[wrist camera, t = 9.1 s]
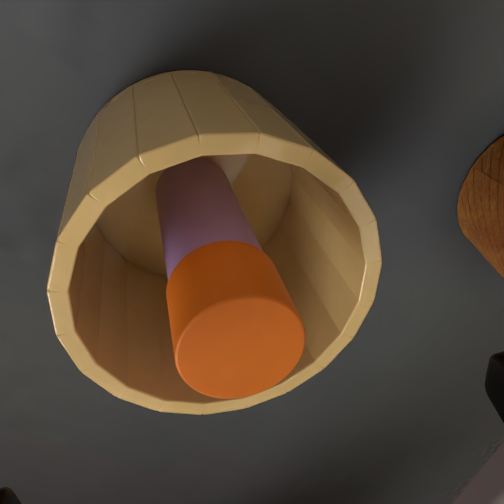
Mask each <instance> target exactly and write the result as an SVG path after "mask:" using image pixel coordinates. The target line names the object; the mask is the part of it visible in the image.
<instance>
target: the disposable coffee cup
mask: <svg viewBox="0 0 504 504" xmlns="http://www.w3.org/2000/svg"><path fill="white" fill-rule="evenodd" d="M457 212H458V222H459V225H460V228H461V230H462V232H463V233H464V235H465V236H466V237H467V238H468V239H469V240H470V241H471V242H472V244H473V245H474V246H475V247H476V248H477V249H478V250H479V251H480V253H481V254H482V255H483V256H484V257H485V258H486V259H487V260H488V262H489V263H490V264H491V265H492V266H493V267H494V268H495V269H496V270H497V272H498V273H499V274H500V275H501V276H502V277H503V278H504V136H503V137H501V138H499V139H498V140H497V141H496V142H494V143H493V144H492V145H491V146H490V147H489V148H488V149H487V150H486V151H485V152H484V153H483V154H482V155H481V156H480V157H479V158H478V160H477V161H476V162H475V163H474V165H473V166H472V167H471V169H470V171H469V173H468V175H467V177H466V179H465V181H464V183H463V185H462V188H461V191H460V194H459V199H458V205H457Z"/></svg>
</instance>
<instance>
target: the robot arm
mask: <svg viewBox="0 0 504 504" xmlns="http://www.w3.org/2000/svg"><path fill="white" fill-rule="evenodd" d="M485 389H486V392H487V395H488V397H489V399H490V400H491V402H492V404H493V405H494V407H495V409H496V411H497V412H498V414H499V416H500V417H501V419H502V421H503V423H504V351H503V352H499V353H496V354H493V355H492V356H491V357H490V359H489V364H488V369H487V374H486V379H485ZM0 504H21V502H20V501H19V499H18V498H17V496H16V495H15V493H14V492H13V490H12V489H11V488H8V487H4V488H0Z"/></svg>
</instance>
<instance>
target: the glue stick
mask: <svg viewBox="0 0 504 504" xmlns="http://www.w3.org/2000/svg"><path fill="white" fill-rule="evenodd" d="M156 201H157V208H158V215H159V222H160V229H161V236H162V243H163V250H164V257H165V264H166V271H167V278H168V284H167V289H166V297H167V305H168V313H169V321H170V328H171V336H172V343H173V351H174V358H175V364H176V368H177V370H178V372H179V374H180V376H181V377H182V379H183V380H184V381H185V382H186V383H187V384H188V385H189V386H190V387H191V388H193V389H194V390H196V391H198V392H200V393H201V394H204V395H207V396H210V397H215V398H222V399H234V398H242V397H248V396H251V395H255V394H258V393H260V392H263V391H265V390H267V389H269V388H271V387H273V386H274V385H276V384H277V383H279V382H280V381H281V380H283V379H284V378H285V377H286V376H287V375H288V374H289V373H290V372H291V371H292V370H293V369H294V367H295V366H296V365H297V363H298V362H299V360H300V358H301V356H302V353H303V350H304V346H305V338H306V334H305V327H304V324H303V321H302V319H301V317H300V315H299V313H298V311H297V309H296V307H295V305H294V303H293V301H292V299H291V297H290V295H289V293H288V291H287V289H286V287H285V285H284V283H283V282H282V280H281V278H280V276H279V274H278V272H277V270H276V268H275V266H274V264H273V262H272V261H271V259H270V258H269V257H268V256H267V255H266V254H265V253H264V252H263V250H262V248H261V246H260V244H259V242H258V240H257V238H256V236H255V234H254V232H253V229H252V227H251V225H250V223H249V221H248V219H247V217H246V215H245V213H244V211H243V209H242V207H241V205H240V203H239V201H238V199H237V197H236V195H235V193H234V191H233V189H232V187H231V185H230V183H229V181H228V179H227V176H226V175H225V173H224V172H223V170H222V169H221V168H220V167H219V166H218V165H216V164H215V163H213V162H211V161H209V160H207V159H204V158H194V159H191V160H189V161H186V162H183V163H180V164H177V165H174V166H171V167H169V168H166V169H165V170H164V172H163V173H162V174H161V176H160V178H159V180H158V182H157V186H156Z"/></svg>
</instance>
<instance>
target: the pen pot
mask: <svg viewBox="0 0 504 504" xmlns="http://www.w3.org/2000/svg"><path fill="white" fill-rule="evenodd" d="M194 158H204V159H207V160H209V161H211V162H213V163H215V164H216V165H218V166H219V167H220V168H221V169H222V170H223V172H224V173H225V175H226V176H227V179H228V181H229V183H230V185H231V187H232V189H233V191H234V193H235V195H236V197H237V199H238V201H239V203H240V205H241V207H242V209H243V211H244V213H245V215H246V217H247V219H248V221H249V223H250V225H251V227H252V229H253V232H254V234H255V236H256V238H257V240H258V242H259V244H260V246H261V248H262V250H263V252H264V253H265V254H266V255H267V256H268V257H269V258H270V259H271V261H272V262H273V264H274V266H275V268H276V270H277V272H278V274H279V276H280V278H281V280H282V282H283V283H284V285H285V287H286V289H287V291H288V293H289V295H290V297H291V299H292V301H293V303H294V305H295V307H296V309H297V311H298V313H299V315H300V317H301V319H302V321H303V324H304V327H305V334H306V338H305V346H304V350H303V353H302V356H301V358H300V360H299V362H298V363H297V365H296V366H295V367H294V369H293V370H292V371H291V372H290V373H289V374H288V375H287V376H286V377H285V378H284V379H283V380H281V381H280V382H279V383H277V384H276V385H274V386H273V387H271V388H269V389H267V390H265V391H263V392H260V393H258V394H255V395H251V396H248V397H242V398H234V399H222V398H215V397H210V396H207V395H204V394H201V393H200V392H198V391H196V390H194V389H193V388H191V387H190V386H189V385H188V384H187V383H186V382H185V381H184V380H183V379H182V377H181V376H180V374H179V372H178V370H177V368H176V364H175V358H174V351H173V343H172V336H171V328H170V321H169V313H168V305H167V297H166V289H167V284H168V278H167V271H166V264H165V257H164V250H163V243H162V236H161V229H160V222H159V215H158V208H157V201H156V186H157V182H158V180H159V178H160V176H161V174H162V173H163V172H164V170H165V169H166V168H169V167H171V166H174V165H177V164H180V163H183V162H186V161H189V160H191V159H194ZM381 266H382V255H381V248H380V241H379V234H378V227H377V220H376V218H375V215H374V213H373V212H372V210H371V208H370V207H369V205H368V203H367V201H366V200H365V198H364V196H363V194H362V193H361V191H360V189H359V188H358V186H357V184H356V182H355V181H354V180H353V179H352V178H351V177H350V176H349V175H348V174H347V173H346V172H345V171H344V170H343V169H342V168H341V167H340V166H339V165H338V164H336V163H335V162H334V161H333V160H332V159H331V158H330V157H329V156H328V155H327V154H326V153H325V152H324V151H322V150H321V149H320V148H319V147H318V146H317V145H316V144H315V143H314V142H313V141H312V140H311V139H310V138H309V137H307V136H306V135H305V134H304V133H303V132H302V131H301V130H300V129H299V128H298V127H297V126H296V125H295V124H293V123H292V122H291V121H290V120H289V119H288V118H287V117H286V116H285V115H284V114H283V113H282V112H281V111H280V110H278V109H277V108H276V107H275V106H274V105H272V104H271V103H270V102H269V101H267V100H266V99H265V98H264V97H263V96H261V95H260V94H259V93H258V92H256V91H255V90H254V89H252V88H251V87H249V86H247V85H245V84H243V83H242V82H240V81H237V80H235V79H232V78H230V77H227V76H225V75H221V74H217V73H212V72H207V71H197V70H183V71H172V72H167V73H161V74H158V75H155V76H151V77H148V78H145V79H143V80H141V81H139V82H137V83H135V84H133V85H131V86H129V87H127V88H126V89H124V90H123V91H121V92H120V93H119V94H117V95H116V96H115V97H113V98H112V99H111V100H110V101H109V102H108V103H107V104H106V105H105V106H104V107H103V108H102V109H101V110H100V112H99V113H98V114H97V115H96V116H95V118H94V119H93V121H92V122H91V124H90V126H89V127H88V129H87V130H86V132H85V135H84V137H83V139H82V141H81V143H80V145H79V147H78V152H77V156H76V160H75V164H74V168H73V173H72V177H71V181H70V185H69V189H68V193H67V198H66V202H65V206H64V210H63V214H62V218H61V223H60V227H59V231H58V235H57V239H56V244H55V249H54V254H53V258H52V263H51V268H50V273H49V278H48V283H47V296H48V301H49V306H50V310H51V315H52V320H53V325H54V330H55V333H56V335H57V338H58V339H59V341H60V342H61V344H62V345H63V346H64V348H65V349H66V351H67V352H68V354H69V355H70V357H71V358H72V360H73V361H74V363H75V364H76V365H77V367H78V368H79V370H80V371H82V373H83V374H85V375H86V376H87V377H89V378H90V379H91V380H93V381H94V382H96V383H97V384H98V385H100V386H101V387H103V388H104V389H105V390H107V391H108V392H110V393H111V394H112V395H114V396H117V397H118V398H120V399H123V400H126V401H129V402H131V403H134V404H137V405H140V406H143V407H146V408H149V409H152V410H155V411H158V410H159V411H160V412H171V413H184V414H197V415H201V414H203V415H206V414H212V413H219V412H226V411H232V410H239V409H245V408H246V407H247V408H248V407H251V406H254V405H256V404H259V403H262V402H264V401H267V400H270V399H272V398H275V397H277V396H280V395H283V394H285V393H287V392H289V391H291V390H292V389H294V388H296V387H297V386H299V385H300V384H302V383H303V382H305V381H306V380H308V379H309V378H311V377H312V376H314V375H315V374H317V373H319V372H320V371H322V370H323V368H325V367H326V366H327V365H328V364H329V363H330V362H331V361H332V360H333V359H334V358H335V357H336V356H337V355H338V354H339V353H340V352H341V351H342V350H343V349H344V348H345V346H346V345H347V344H348V343H349V342H350V341H351V340H352V339H353V337H354V336H355V335H356V333H357V331H358V329H359V327H360V326H361V324H362V322H363V320H364V318H365V317H366V315H367V313H368V311H369V309H370V308H371V306H372V304H373V301H374V299H375V295H376V290H377V285H378V280H379V275H380V270H381Z"/></svg>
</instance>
